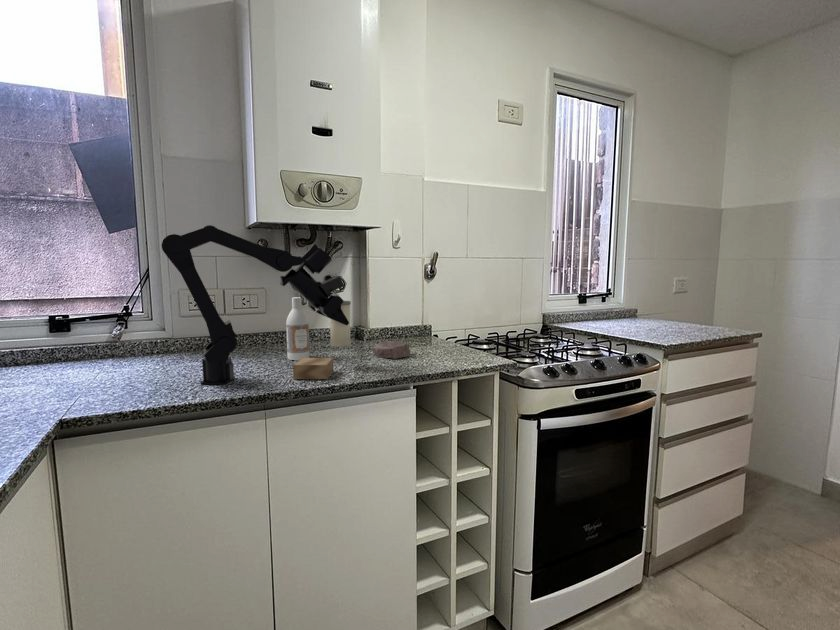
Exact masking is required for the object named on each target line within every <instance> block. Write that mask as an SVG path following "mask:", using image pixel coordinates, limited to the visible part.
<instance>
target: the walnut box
mask: <svg viewBox="0 0 840 630" xmlns="http://www.w3.org/2000/svg"><path fill="white" fill-rule="evenodd" d="M292 371H293V373H292V374H293V376H292V377H293V380H294V379H327V380H329V378H330V377H331V376H332V374H333V373H334V372H335V371H334V357H309V358H301V359H300V360H299V361H296V362H295V363H294V364H293V365H292ZM332 372H333V373H332ZM329 376H330V377H329ZM328 377H329V378H328Z"/></svg>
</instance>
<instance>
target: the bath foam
mask: <svg viewBox="0 0 840 630" xmlns="http://www.w3.org/2000/svg"><path fill="white" fill-rule="evenodd" d="M291 307H292V308H291V310H290V312H289V314H288V316H287V318H286V323H285V325H286V329H285V330H286V352H287V353H286V354H287V359H288V360H289V361H292V360H294V362H295V361H296V362H297V361H299V360H300V359H301V358H311V357H310V356H311V355H310V325H309V324H310V323H309V318H308V316H307V314H306V313H305V311H304V310H303V306H302V296H301V297H299V296H295V297H294V296H293V297H291Z"/></svg>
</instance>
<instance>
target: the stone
mask: <svg viewBox="0 0 840 630" xmlns="http://www.w3.org/2000/svg"><path fill="white" fill-rule="evenodd" d="M371 349H372V351H373V355H374V356H375V357H378V358H381V359H383V358H384V359H385V358H387V359H393V360H397V359H401V358H407V357H408V358H409V356H410V353H411V349H410V344H409V343H406V342H402V341H399V340H387V341H383V342H380V343H377V344H375V345H374V346H372V348H371Z"/></svg>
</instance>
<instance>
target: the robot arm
mask: <svg viewBox="0 0 840 630" xmlns="http://www.w3.org/2000/svg"><path fill="white" fill-rule="evenodd" d="M208 243H213V244H216V245H219V246H222V247H224V248H226V249H229V250H232V251H235V252H237V253H240V254H242V255H245V256H248V257H250V258H253V259H254V260H257V261H258V262H260V263H261V264H263V265H265V266H267V267H269V268H270V269H272V270H274V271H275V272H281V273H284V272H285V273H286V274H285V275H280V276H279V279H280V286H283V287H285V286H287V284H288V283H289V284H290V286H292V288H293V289H294V290H295V291H297V292H298V294H300V296H301V298H303V299H305V300H306V301H307V302H308V304H307V306H308V308H309V309H310V310H311V311H312V312H315V313H316V314H319V315H321V316H324V317H326V318H328V319H333V320H335V321H337V322H340V323H342V324H344V325H348V324H349V321H348V320H347V318H346V316H345V315H344V313H343V311H342V310H341V304H342V303H343V301H345V300H343V298H342V297H340V295H337V294H336V295H334V294H333V293H332V292H335V291H336V290H338V289H340V288H343V287H345V284H344V282H343V280H342V277H341V275H333V276H332V275H330V274H326V275H324V276H323V281H317V280H316V279H315V278H314V277H313V276H312V275H314V274H316V275H319V274H320V273H321V272H322V271H323V270H324V269H325V268H326V267H327V266H328V265H329V264H330V263H331V262H332V261H333V260H332V257H331V256H330V255H329V253H328V252H327V251H324V250H323V249H322V248H321V247H319V246H318V245H317V244H316V243H313V244H312V245H311V246H310V247H309V248H308V250H307V251H305V253H304V254H303V255H302V256H300V255H296V256H294V255H292V254H291V252H289V251H287V250H285V249H284V250H283V249H279V248H274V247H268V246H264V245H261V244H257V243H255V242H252V241H250V240H247V239H245V238H242V237H240V236H237V235H235V234H231V233H230V232H227V231H224V230H222V229H219V228H218V227H216V226H214V225H211V224H209V225H205V226H204V227H202V228H199V229H197V230H193V231H190V232H187V233H185V234H181V235H180V234H176V233H173V234H169V235H166V236H165V237H164V238H163V239H162V242H161V249H162V251H163V253H164V254H165V256H166V257H167V258H168V259H169V261H170V262H171V263H172V265H173V266H174V267H175V268H176V270H177V271H178V272H179V274H180V275H181V277H182V280H183V281H184V283H185V285H186V287H187V289H188V290H189V292H190V294H191V296H192V299H194V302H195V304H196V307H198V310H199V312H200V314H201V315H202V318H203V320H204V322H205V324H206V327H207V331H208V333H209V338H210V342H209V343H208V344H207V345H206V346H205V347H204V349H203V354H204V358H203V359H202V361H201V363H202V379H203V380H201V381H200V385H225V384H228V383H229V382H231V381H232V380H234V379H235V378H236V377H235V373H234V371H235V370H234V362H232V357H231V356H230V354H231V353H232V352H233V351H234V350H235V349H236V347H237V345H238V344H237V343H238V340H237V338H238V337H239V336H238V334H237V332H236V331H235V330H234V328H233V326H232V322H231V321H230V319H228V320H227V321H224V319H222V317H221V316H220V314H219V312H218V311H217V308H216V306H215V304H214V302H213V300H212V298H211V296H210V294H209V292H208V289H206V286H205V285H204V282H203V280H202V279H201V276H200V274H199V272H198V270H197V268H196V266H195V261H194V257H193V255H192V252H191V250H193V249H195V248H199V247H201V246H203V245H206V244H208ZM297 266H298V267H297ZM292 267H297V268H296V269H294V268H292ZM304 268H305V269H304Z"/></svg>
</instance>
